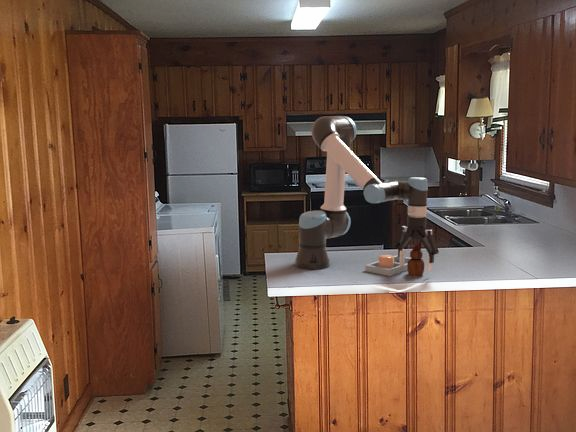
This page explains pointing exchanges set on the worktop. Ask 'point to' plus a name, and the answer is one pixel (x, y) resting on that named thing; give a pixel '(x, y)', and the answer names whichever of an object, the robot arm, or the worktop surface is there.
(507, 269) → the worktop surface
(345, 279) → the worktop surface
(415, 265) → the wooden figurine
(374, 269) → the gray tray
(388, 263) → the orange square block
